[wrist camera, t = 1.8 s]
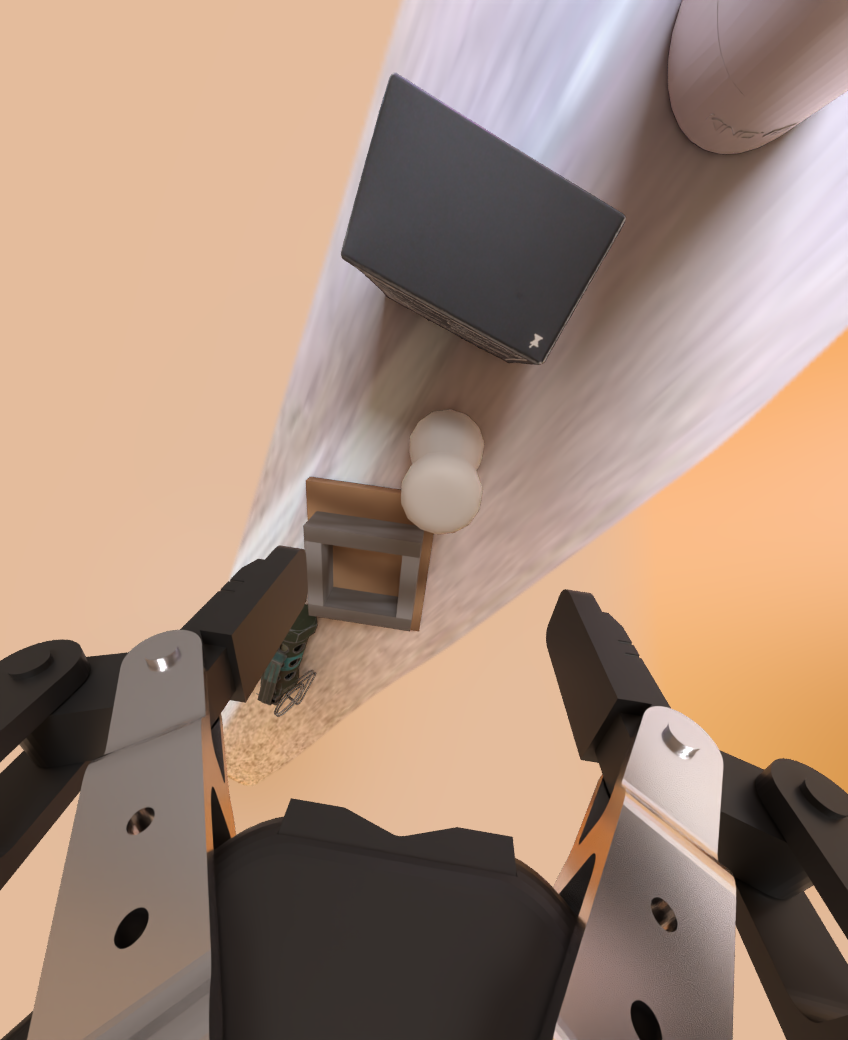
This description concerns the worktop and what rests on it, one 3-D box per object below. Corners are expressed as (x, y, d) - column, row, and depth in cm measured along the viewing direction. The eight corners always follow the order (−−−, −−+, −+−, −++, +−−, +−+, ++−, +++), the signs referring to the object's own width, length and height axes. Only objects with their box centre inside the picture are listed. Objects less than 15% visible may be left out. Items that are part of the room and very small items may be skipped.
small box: (564, 268, 22) (640, 208, 13) (512, 365, 25) (543, 374, 16) (421, 184, 21) (390, 51, 12) (383, 297, 24) (334, 262, 15)
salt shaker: (418, 477, 30) (393, 557, 18) (407, 410, 27) (369, 455, 16) (484, 469, 29) (502, 548, 17) (479, 400, 26) (495, 438, 15)
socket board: (310, 476, 31) (290, 493, 27) (439, 495, 30) (436, 514, 27) (316, 608, 38) (301, 634, 34) (419, 624, 38) (415, 653, 34)
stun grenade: (289, 593, 38) (269, 668, 45) (255, 632, 33) (237, 712, 39) (339, 615, 38) (312, 687, 45) (313, 658, 33) (286, 733, 39)
